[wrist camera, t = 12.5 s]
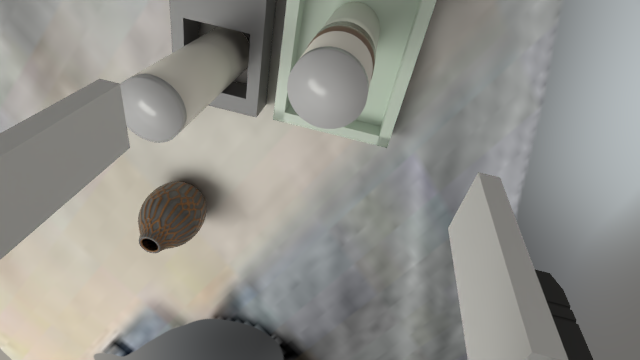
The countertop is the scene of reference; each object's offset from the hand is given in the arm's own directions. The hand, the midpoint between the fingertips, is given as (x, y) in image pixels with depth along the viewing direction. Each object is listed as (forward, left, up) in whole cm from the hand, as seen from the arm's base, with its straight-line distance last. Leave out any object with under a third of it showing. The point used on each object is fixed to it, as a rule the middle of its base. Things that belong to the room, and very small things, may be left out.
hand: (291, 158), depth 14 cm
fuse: (+5, -11, -22) cm, 25 cm away
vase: (+24, -16, -22) cm, 36 cm away
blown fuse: (0, 0, -21) cm, 21 cm away
